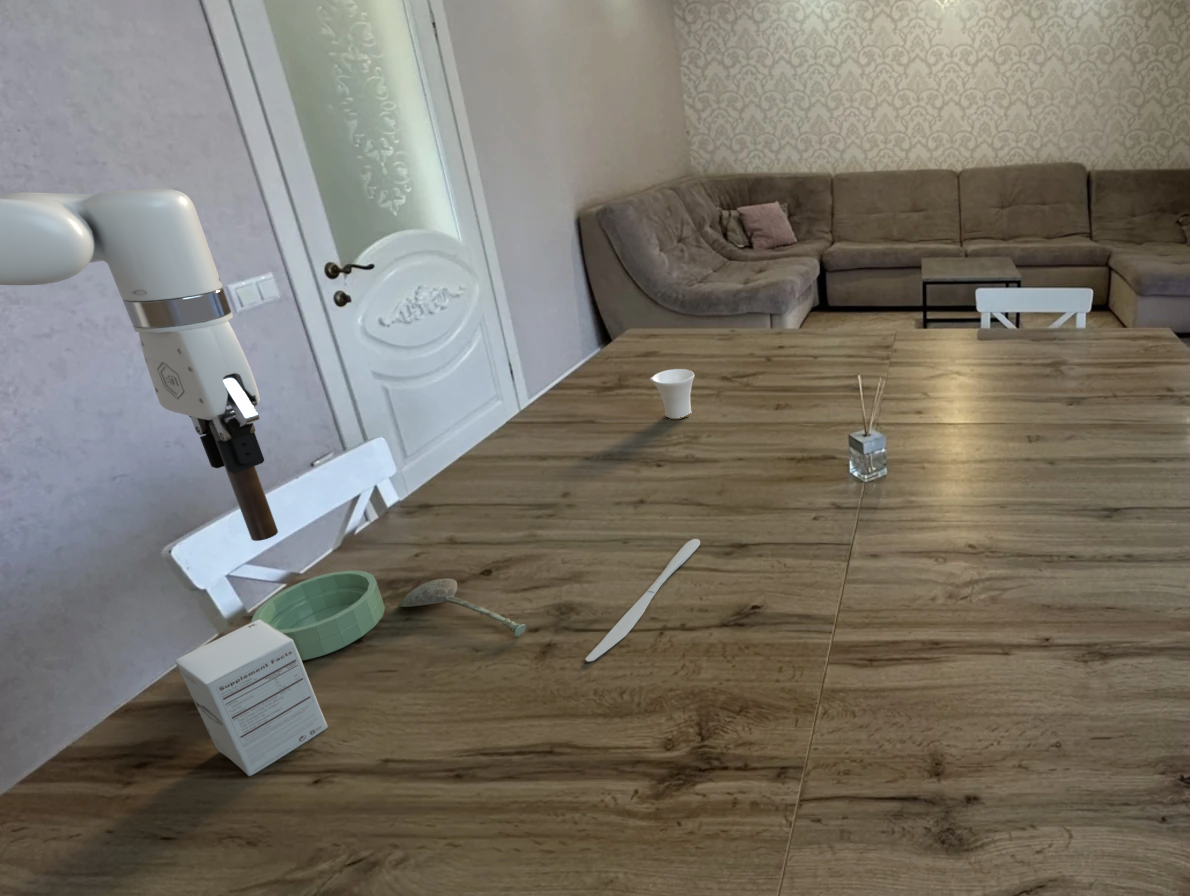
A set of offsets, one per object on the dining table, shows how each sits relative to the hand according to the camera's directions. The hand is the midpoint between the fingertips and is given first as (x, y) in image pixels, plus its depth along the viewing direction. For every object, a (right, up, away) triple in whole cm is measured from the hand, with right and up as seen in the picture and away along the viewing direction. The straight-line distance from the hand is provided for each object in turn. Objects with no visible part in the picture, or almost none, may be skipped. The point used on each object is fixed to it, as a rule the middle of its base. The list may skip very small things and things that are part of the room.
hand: (238, 464), depth 82 cm
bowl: (0, -24, +13) cm, 27 cm away
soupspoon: (+16, -23, +16) cm, 32 cm away
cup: (+24, +1, +78) cm, 81 cm away
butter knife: (+40, -21, +19) cm, 49 cm away
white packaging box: (+7, -30, -3) cm, 31 cm away
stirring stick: (0, -9, +3) cm, 10 cm away
